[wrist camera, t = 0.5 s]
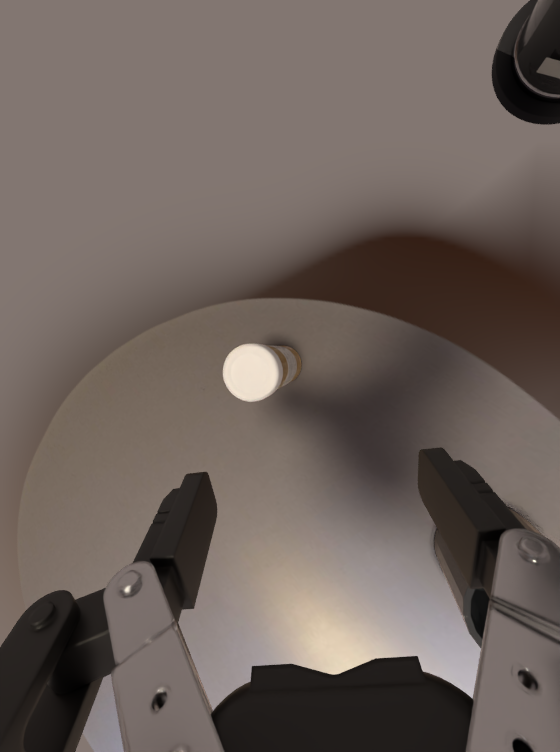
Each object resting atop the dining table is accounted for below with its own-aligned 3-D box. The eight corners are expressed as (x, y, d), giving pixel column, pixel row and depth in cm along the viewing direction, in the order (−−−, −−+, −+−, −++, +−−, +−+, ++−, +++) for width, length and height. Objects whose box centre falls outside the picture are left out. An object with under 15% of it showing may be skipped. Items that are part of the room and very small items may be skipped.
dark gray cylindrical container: (473, 482, 34) (518, 530, 25) (561, 542, 32) (641, 614, 24) (414, 550, 36) (437, 616, 27) (495, 609, 34) (546, 698, 26)
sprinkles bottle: (260, 377, 38) (214, 392, 24) (270, 340, 37) (228, 336, 24) (296, 388, 37) (269, 410, 24) (307, 351, 36) (285, 352, 23)
